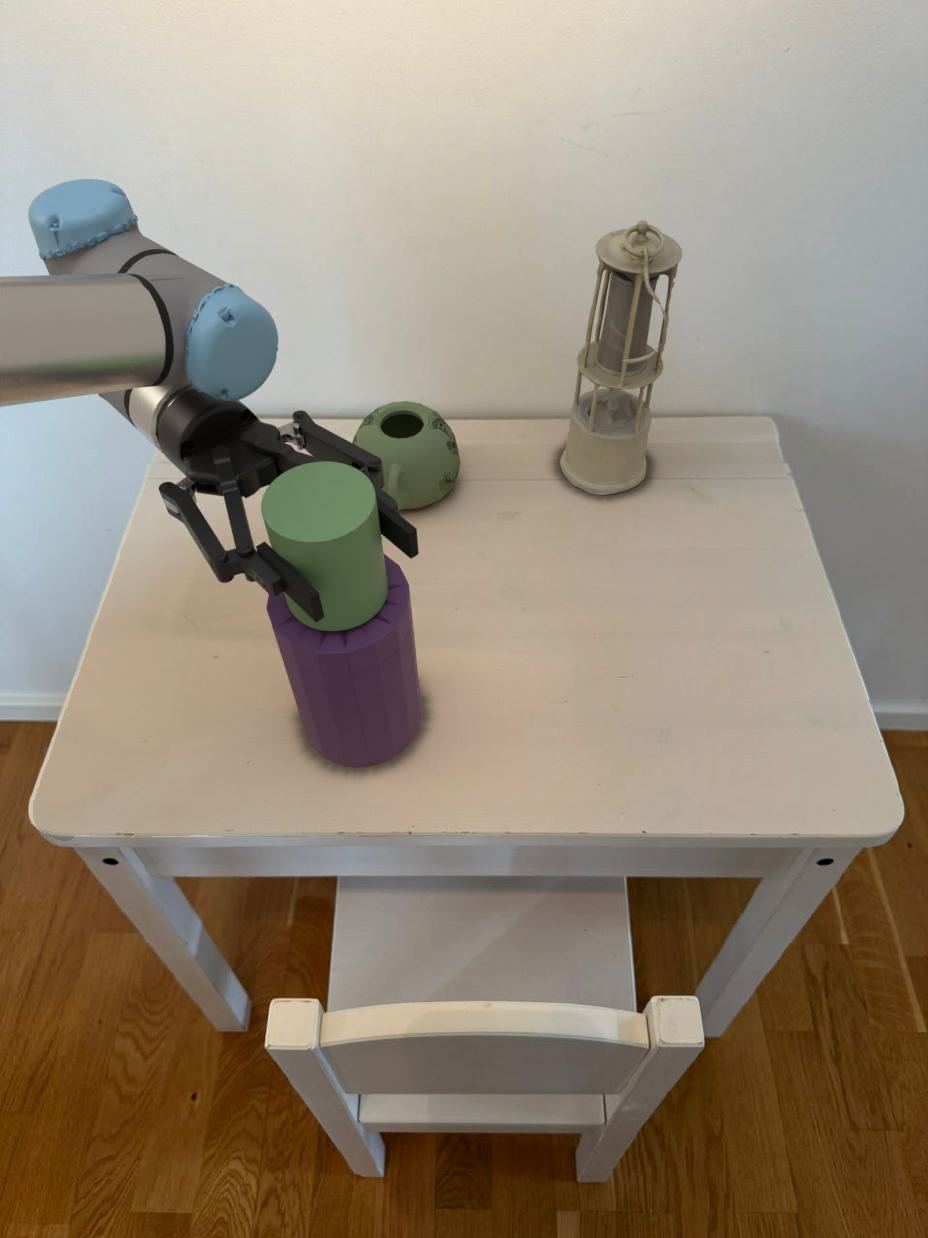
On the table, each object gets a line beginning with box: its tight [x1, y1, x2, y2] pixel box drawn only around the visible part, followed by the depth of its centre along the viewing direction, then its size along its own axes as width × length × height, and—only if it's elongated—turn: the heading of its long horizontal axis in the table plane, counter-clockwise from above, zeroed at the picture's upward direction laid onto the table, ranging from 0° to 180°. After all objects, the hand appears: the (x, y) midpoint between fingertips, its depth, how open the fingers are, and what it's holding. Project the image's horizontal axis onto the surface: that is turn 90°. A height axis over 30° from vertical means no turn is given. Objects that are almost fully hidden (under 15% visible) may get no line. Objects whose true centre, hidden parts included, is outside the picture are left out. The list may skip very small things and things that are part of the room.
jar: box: [265, 553, 422, 768], centre depth 75 cm, size 11×11×18 cm
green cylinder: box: [260, 462, 388, 631], centre depth 64 cm, size 8×8×10 cm
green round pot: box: [351, 400, 461, 511], centre depth 98 cm, size 16×13×9 cm
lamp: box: [559, 220, 683, 496], centre depth 91 cm, size 10×13×30 cm
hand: (366, 574), depth 61 cm, fingers closed on green cylinder, 8 cm apart
